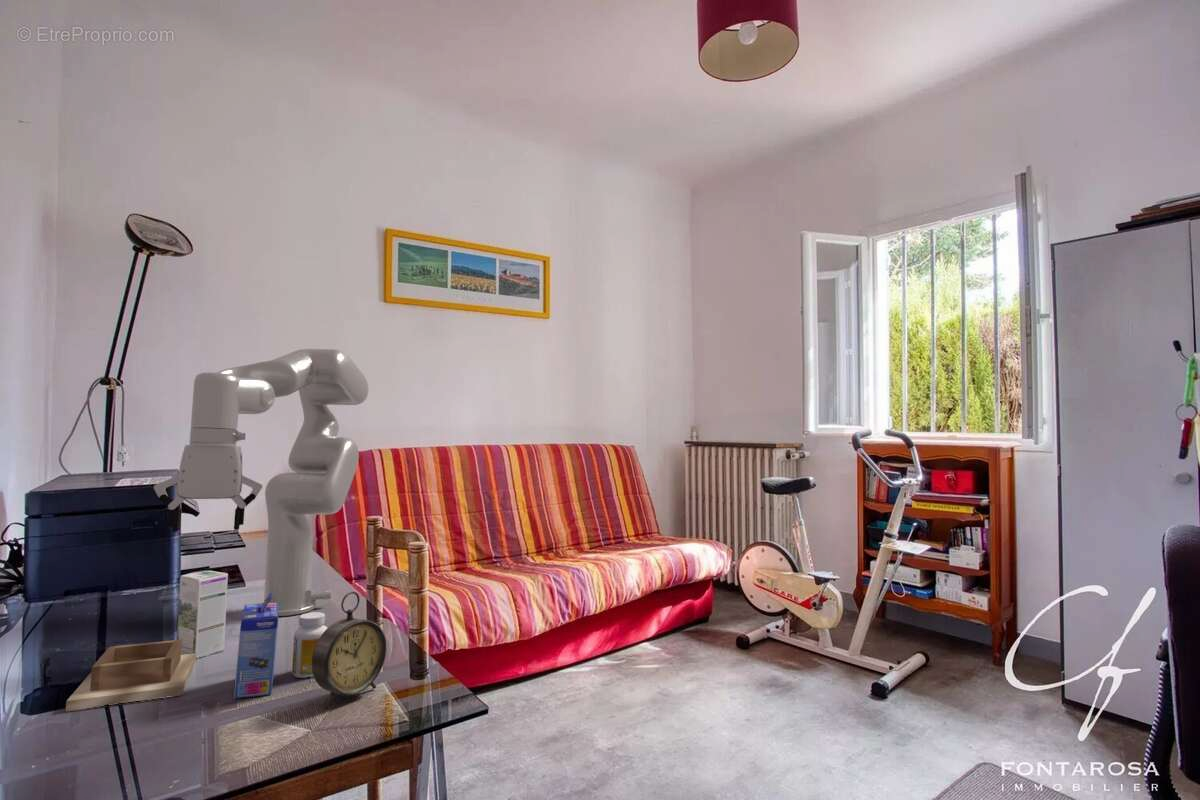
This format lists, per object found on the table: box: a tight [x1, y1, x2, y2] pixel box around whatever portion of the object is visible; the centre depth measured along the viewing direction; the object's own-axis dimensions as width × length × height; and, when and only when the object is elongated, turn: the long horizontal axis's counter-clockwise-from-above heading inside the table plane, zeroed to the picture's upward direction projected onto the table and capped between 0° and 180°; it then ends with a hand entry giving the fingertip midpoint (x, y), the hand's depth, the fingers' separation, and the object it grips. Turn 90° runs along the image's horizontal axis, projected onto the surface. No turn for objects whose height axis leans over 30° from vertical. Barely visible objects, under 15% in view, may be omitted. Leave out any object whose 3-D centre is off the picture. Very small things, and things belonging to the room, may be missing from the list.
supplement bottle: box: [291, 611, 328, 679], centre depth 106 cm, size 5×5×10 cm
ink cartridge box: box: [233, 592, 279, 699], centre depth 100 cm, size 10×6×14 cm, turn 28°
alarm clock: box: [312, 591, 387, 709], centre depth 97 cm, size 11×5×16 cm, turn 148°
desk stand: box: [65, 639, 197, 712], centre depth 100 cm, size 14×16×5 cm
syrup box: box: [176, 570, 229, 659], centre depth 115 cm, size 6×6×14 cm
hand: (206, 529), depth 116 cm, fingers open, 9 cm apart
